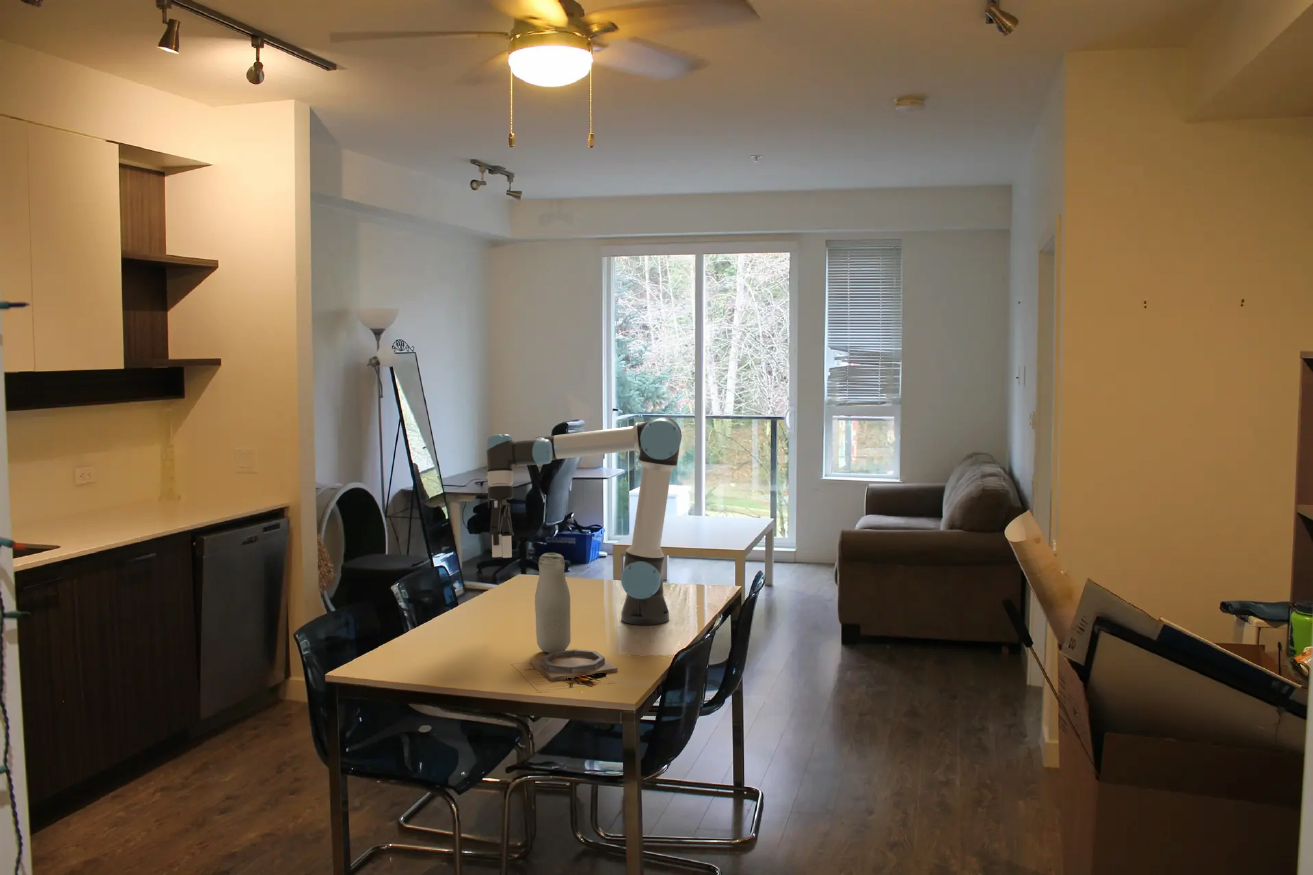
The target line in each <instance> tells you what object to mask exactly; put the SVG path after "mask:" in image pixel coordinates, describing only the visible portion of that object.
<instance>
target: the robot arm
mask: <svg viewBox="0 0 1313 875" xmlns="http://www.w3.org/2000/svg"><path fill="white" fill-rule="evenodd" d="M682 436H683V434H682V429H681V426H679V424H678V423H677V422H676V421H675V420H674V419H672V418H669V417H667V416H665V417H664V416H660V417H655V418H653V419H650V420H647V421H640V422H636V423H635V424H634V425H633V426H632V425H631V426H626V427H625V426H624V427H615V428H608V429H607V428H606V429H599V430H590V431H580V432H573V433H564V434H557V435H547V436H536V437H533V438H532V439H525V440H513V439H512V436H511V435H510V434H505V433H504V434H503V433H501V434H500V433H497V434H492V435H489V436H488V437H487V439H486V441H487V442H486V451H485V452H486V463H487V475H486V476H485V479H486V480H487V485H488V486H489V487H488V488H487V499H488V500H491V510H490V512H491V514H490V524H489V531H488V535H491V552H492V553H491V556H492V558H505V559H507V558H512V557H513V555H512V554H513V551H512V550H513V549H512V537H513V536H515V532H514V531H513V525H512V524H513V523H512V518H511V504H510V503H508V502H507V501H508V500H512V499H513V498H514V487H513V484H514V475H513V474H514V472H513V466H514V467H515V466H534V465H538V466H542V465H548V464H551V463H552V461H555V460H561V459H569V458H577V457H579V458H580V457H588V456H589V457H590V456H597V455H606V454H614V453H616V454H617V453H624V452H634V451H637V452H638V453H639V456H638V462H639V464H641V466H642V471H641V475H640V476H641V477H640V483H639V491H638V499H637V500H638V501H637V506H636V512H635V520H634V526H633V534H632V541H631V545H630V546H628V548H626V549H625V554H624V555H625V556H624V562H623V568H622V569H623V570H622V571H621V574H620V583H621V586H622V588H623V590H624V592H625V593H626V596H625V598H624V599H625V600H624V602H623V607H622V609H621V613H620V619H621V622H623V623H626V624H629V625H637V626H652V625H659V624H660V625H661V624H665V623H666V622H668V621H670V620H669V619H670V611H669V608H668V605H667V602H666V600H665V597H664V559H665V554H664V553H663V549H662V548H661V544H662V537H663V531H664V523H665V516H666V511H667V510H666V509H667V502H668V495H669V490H670V489H669V487H670V482H671V481H670V480H671V475H672V470H674V469H675V468H676V467H677V466H678V461H679V455H680V454H679V453H680V446H681V443H682V442H681V441H682ZM501 532H502V534H501Z"/></svg>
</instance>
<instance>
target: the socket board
mask: <svg viewBox="0 0 1313 875" xmlns="http://www.w3.org/2000/svg"><path fill="white" fill-rule="evenodd" d="M529 664H531V665H532V666H533V667H534V668H535V667H536V668H535V669H536V670H538V669H539V670H538V671H539V672H540V671H541V672H542V673H543V674H542V673H541V672H540V673H541V674H542V675H544V676H545V675H546V676H545V677H546V678H547V679H548V680H549V681H550V682H555V681H557V680H558V681H562V680H569V679H568V678H571V679H576V678H575V677H578V676H582V675H592V674H595V673H605V674H611V673H612V674H613V673H617V672H618V667H616V666H615V665H614V664H612V663H611V662H610V661H608V660H606V658H605V656H604V655H602V654H601V653H599V651H596V650H587V649H577V648H576V649H575V648H573V649H565V650H564V651H556V652H551V653H547V654H546V655H544V656H543V657H537V658H536V657H535V658H530V659H529ZM592 676H593V675H592ZM566 678H567V679H566ZM578 678H579V677H578Z"/></svg>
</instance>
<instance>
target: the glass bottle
mask: <svg viewBox="0 0 1313 875" xmlns="http://www.w3.org/2000/svg"><path fill="white" fill-rule="evenodd" d="M564 558H565V557H564V556H563V555H562V554H561V553H556V552H545V553H543V554H542V555H540V556H539V557H538V569H539V570H538V571H539V574H538V581H537V584H536V588H535V593H534V606H535V607H534V608H535V609H534V611H535V634H536V635H535V636H536V644H537V645H538V648H539V650H541V651H542V652H544V653H547V654H549V653H551V652H556V651H564V650H568V647H569V646H570V644H571V640H572V637H571V633H572V632H571V594H570V590H569V586H568V582H567V579H566V574H565V566H566V565H565V561H564V560H565V559H564Z"/></svg>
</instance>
